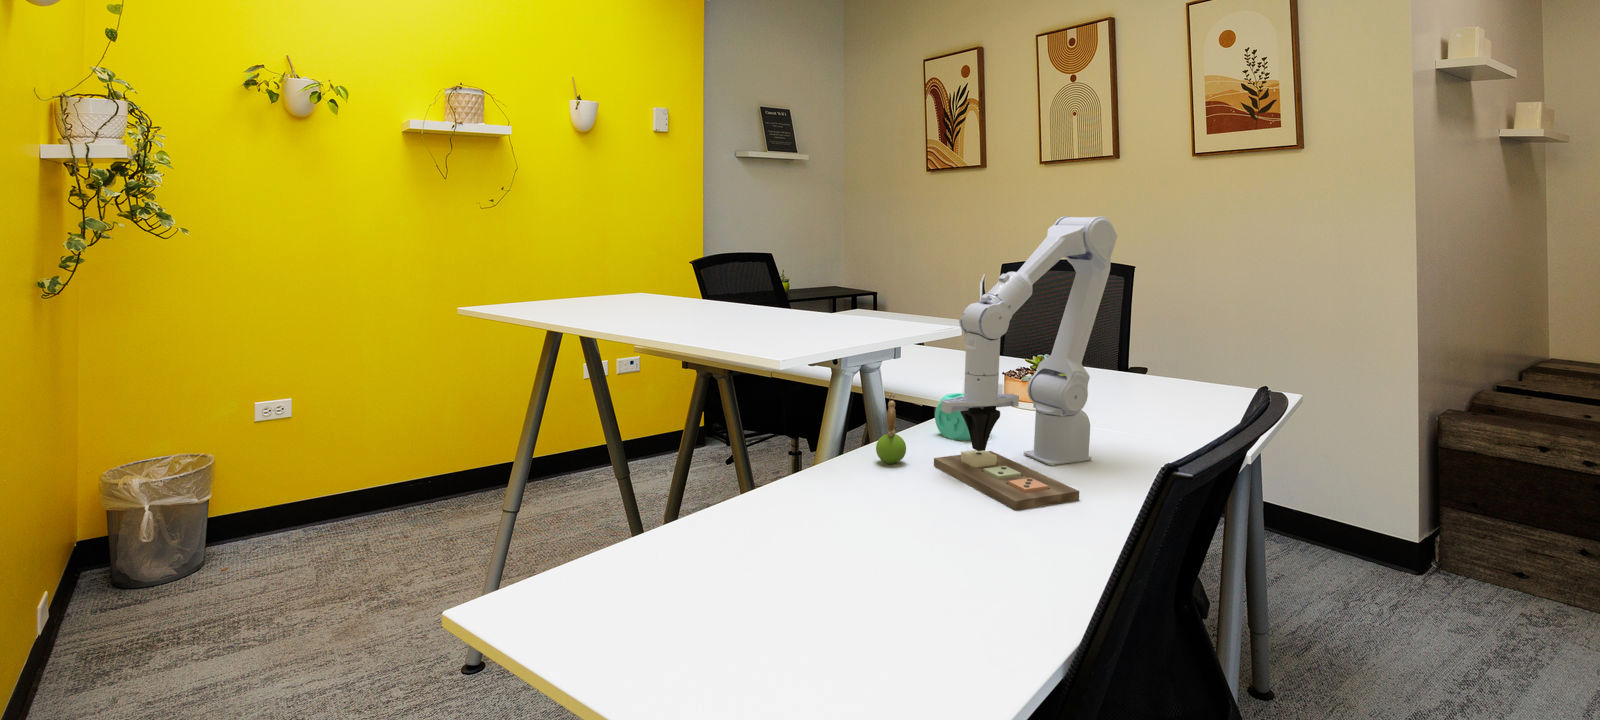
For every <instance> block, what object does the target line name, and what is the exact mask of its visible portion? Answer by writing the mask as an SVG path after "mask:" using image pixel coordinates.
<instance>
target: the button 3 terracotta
mask: <svg viewBox="0 0 1600 720" xmlns="http://www.w3.org/2000/svg"><path fill="white" fill-rule="evenodd" d="M1008 485H1010V486H1012V487H1014V488H1016V489H1018V490H1020V491H1022V492H1024V493H1028V492H1035V491H1041V490H1048V485H1045V484H1043V483H1041V482H1039V481H1037V480H1035V479H1033V478H1025V479H1018V480H1011V481H1008Z"/></svg>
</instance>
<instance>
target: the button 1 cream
mask: <svg viewBox="0 0 1600 720" xmlns="http://www.w3.org/2000/svg"><path fill="white" fill-rule="evenodd" d="M987 451H988V450H986V449H985V450H984V451H977V450H975V449H973V450H971V449H970V450H966V451H965V450H964V451H960V455H961V461H962V462H964V463H966V464H968V465H970V466H972V467H974V468H975V467H983V466H991V465H996V462H997V456H996V455H994V454H992V453H990V452H987Z"/></svg>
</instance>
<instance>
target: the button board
mask: <svg viewBox="0 0 1600 720" xmlns="http://www.w3.org/2000/svg"><path fill="white" fill-rule="evenodd" d="M986 451H987V452H990V453H992V454H994V455H996V456H997V462H996V465H991V466H983V467H975V468H974V467H972V466H970V465H968V464H966V463H964V462H962V461H961V454H956V455H955V454H954V455H948V456H939V457H933V467H934V466H935V468H936V469H938V470H940V471H942V472H944V473H946V474H947V475H949V476H950V477H951V476H952V477H953V478H955V479H957V480H958V481H961V482H963V483H964V484H966V485H968V486H969V487H972V488H973V489H975V490H976V491H979V492H981V493H983V494H984V495H986V496H987V497H990V498H992V499H994V500H995V501H997V502H999V503H1000V504H1003V505H1004V506H1006V507H1009V508H1010V509H1011V510H1013V511H1020V510H1027V509H1031V508H1033V509H1034V508H1038V507H1039V508H1040V507H1045V506H1051V505H1057V504H1065V503H1071V502H1077V501H1080V490H1078V489H1076V488H1073V487H1071V486H1069V485H1066V484H1065V483H1063V482H1060V481H1058V480H1056V479H1054V478H1051V477H1049V476H1046V475H1045V474H1042V473H1041V472H1038V471H1037V470H1034V469H1031V468H1030V467H1027V466H1025V465H1022V463H1021V464H1020V463H1018V462H1016V461H1015V460H1014V461H1013V460H1012V459H1010V458H1008V457H1006V456H1003V455H1001V454H999V453H996V452H994V451H992V450H986ZM999 466H1007V467H1009V468H1011V469H1014V470H1016V471H1018V472H1020V473H1021V477H1014V478H1007V479H1000V480H998V479H996V478H994V477H992V476H990V475H988V474H986V473H984V472H983V470H984V468H992V467H999ZM1025 478H1033V479H1035V480H1037V481H1039V482H1041V483H1043V484H1045V485H1048V490H1041V491H1035V492H1028V493H1024V492H1022V491H1020V490H1018V489H1016V488H1014V487H1012V486H1010V485H1008V481H1011V480H1018V479H1025Z"/></svg>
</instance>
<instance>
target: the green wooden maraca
mask: <svg viewBox="0 0 1600 720" xmlns="http://www.w3.org/2000/svg"><path fill="white" fill-rule="evenodd" d="M888 397H889V398H891V397H892V398H893V399H892V400H889V401H888V403H887V406H888V407H887V408H888V409H887V412H886V429H887V433H886V434H884V435H882V436H880V437H879V439H878V440H877V441H876V444H875V445H876V446H875V452H876V455H877V457H878V458H879V459H880V460H881V461H882V462H884V463H885V464H889V465H891V464H897V463H899V462H901V461H902V459H904V457H905V455H906V453H907V445H906V442H905V440H904V439H903V437H901V436H900V434H899V435H898V434H896V430H897V415H896V409H895V407H896V402H895V399H894V398H895V397H896V395H895V393H893V394H891V393H889V394H888Z"/></svg>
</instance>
